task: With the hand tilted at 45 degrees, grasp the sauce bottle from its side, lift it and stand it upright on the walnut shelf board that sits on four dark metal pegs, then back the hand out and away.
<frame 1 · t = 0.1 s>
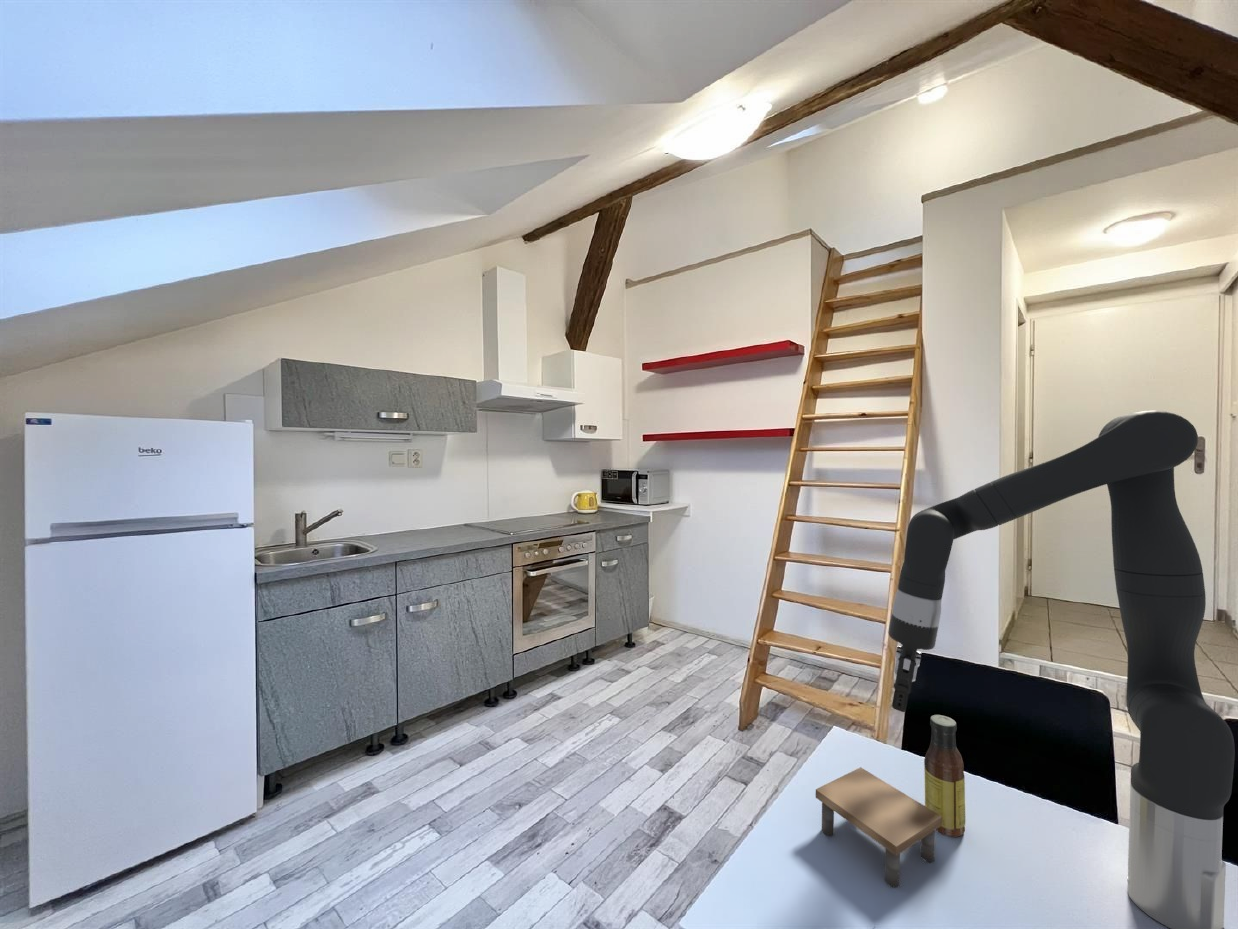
hand: (900, 700, 93), 22 cm above the table, tool pointing down, fingers open, 8 cm apart
sauce bottle: (943, 827, 91), on the table
peg shelf: (875, 844, 87), on the table
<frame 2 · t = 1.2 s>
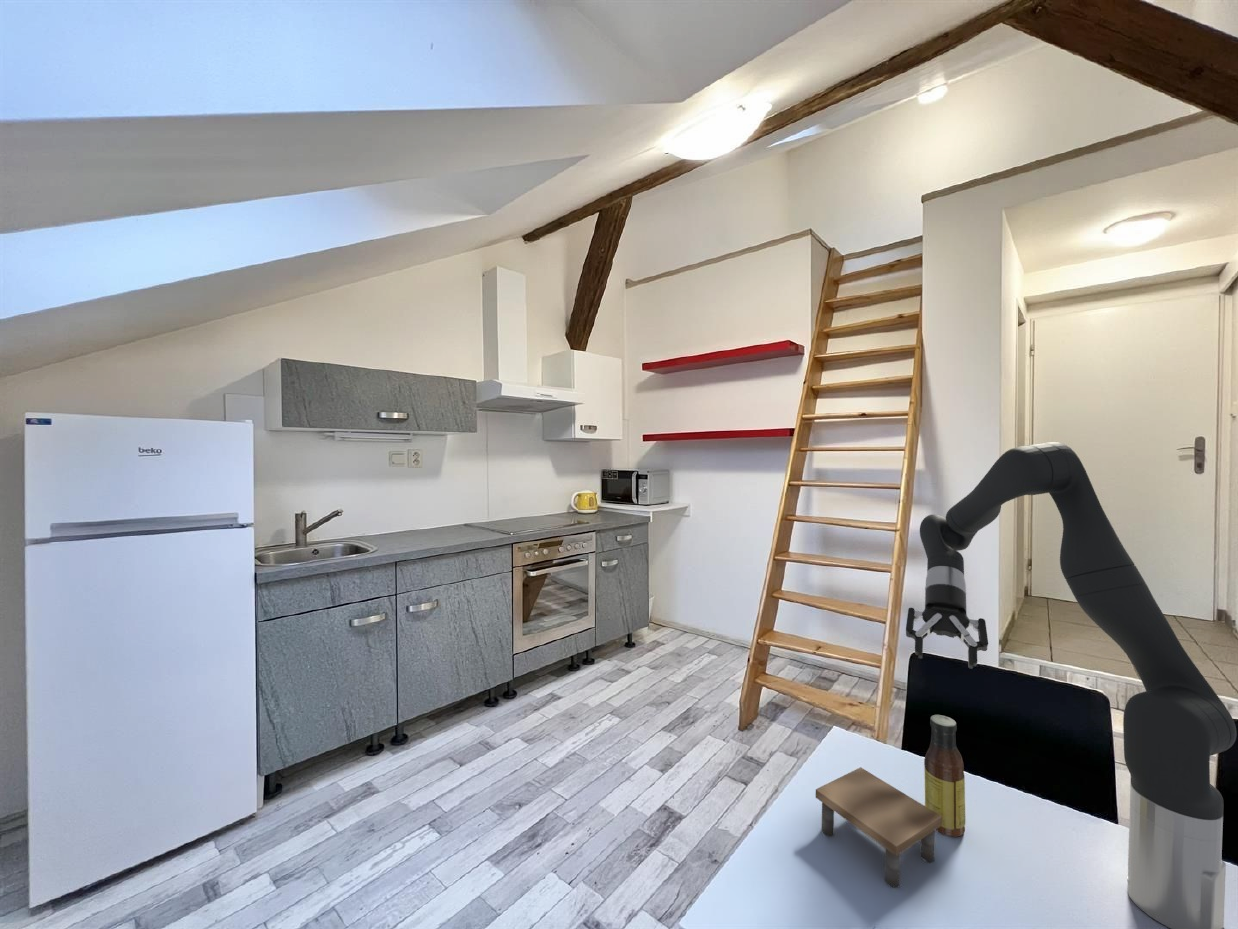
hand: (945, 661, 100), 26 cm above the table, tool tilted 45°, fingers open, 8 cm apart
nothing on the table moved.
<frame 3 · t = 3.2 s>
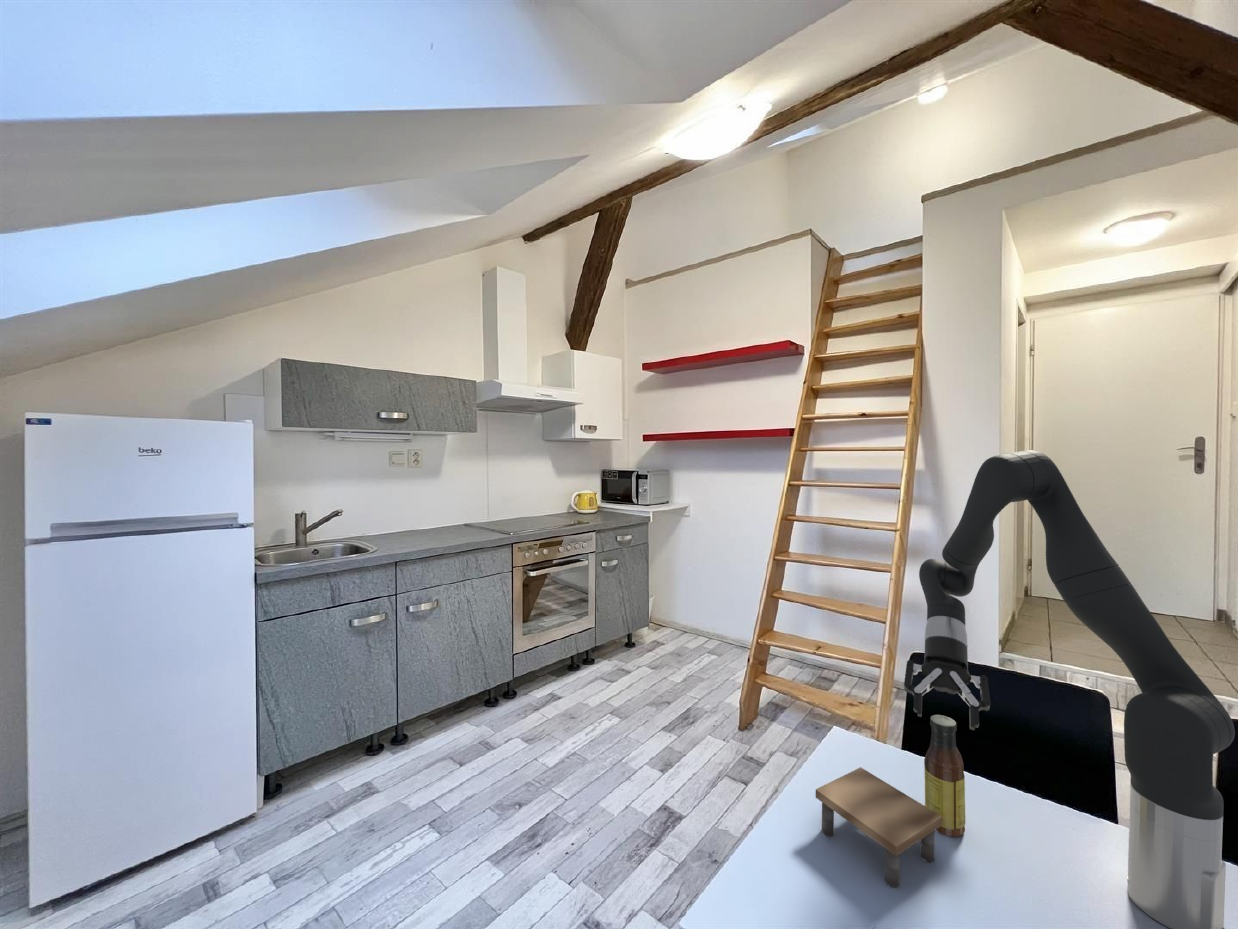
hand: (945, 721, 95), 17 cm above the table, tool tilted 45°, fingers open, 8 cm apart
nothing on the table moved.
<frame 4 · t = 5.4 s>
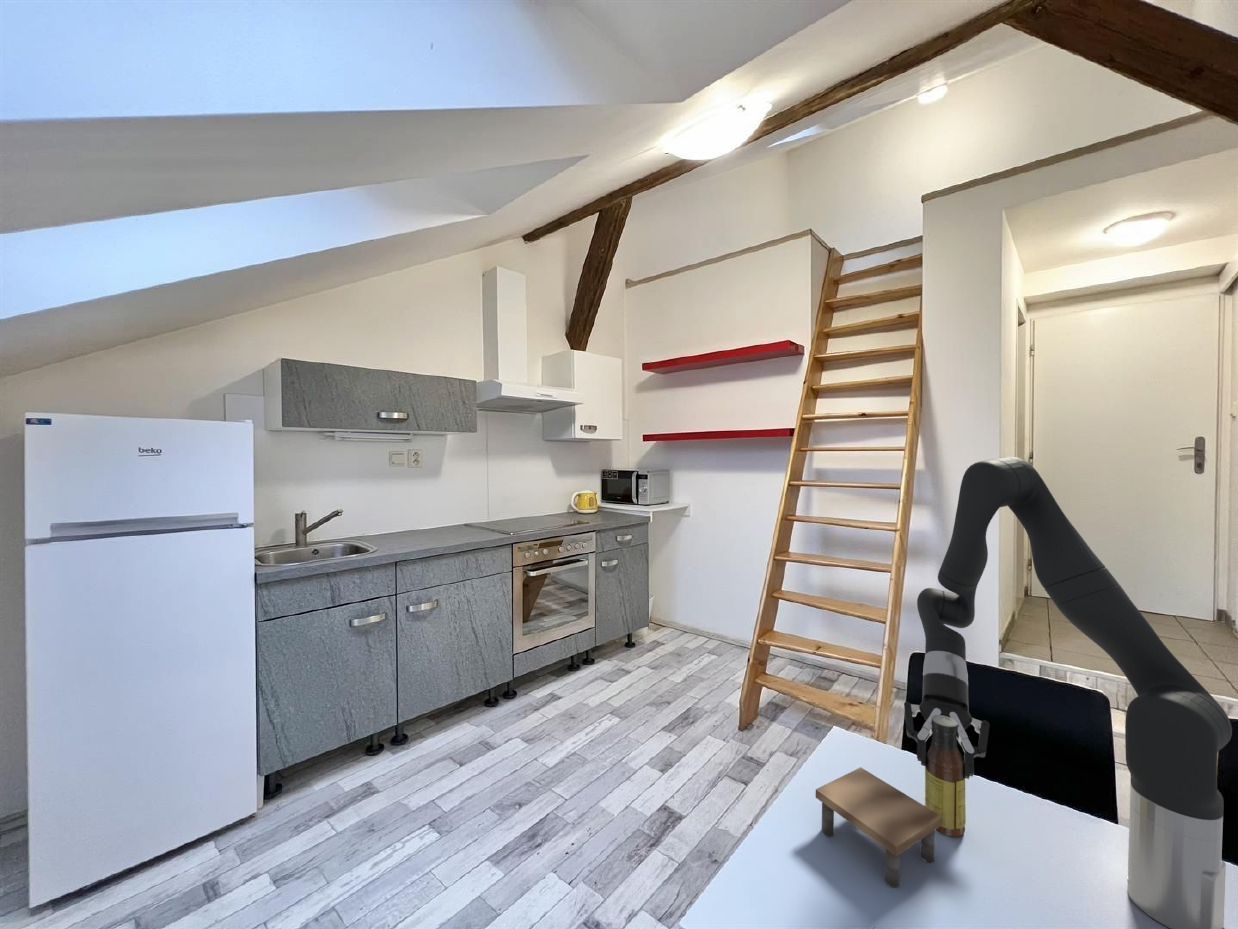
hand: (944, 770, 90), 11 cm above the table, tool tilted 45°, fingers closed on sauce bottle, 6 cm apart
sauce bottle: (943, 827, 91), on the table, touching gripper
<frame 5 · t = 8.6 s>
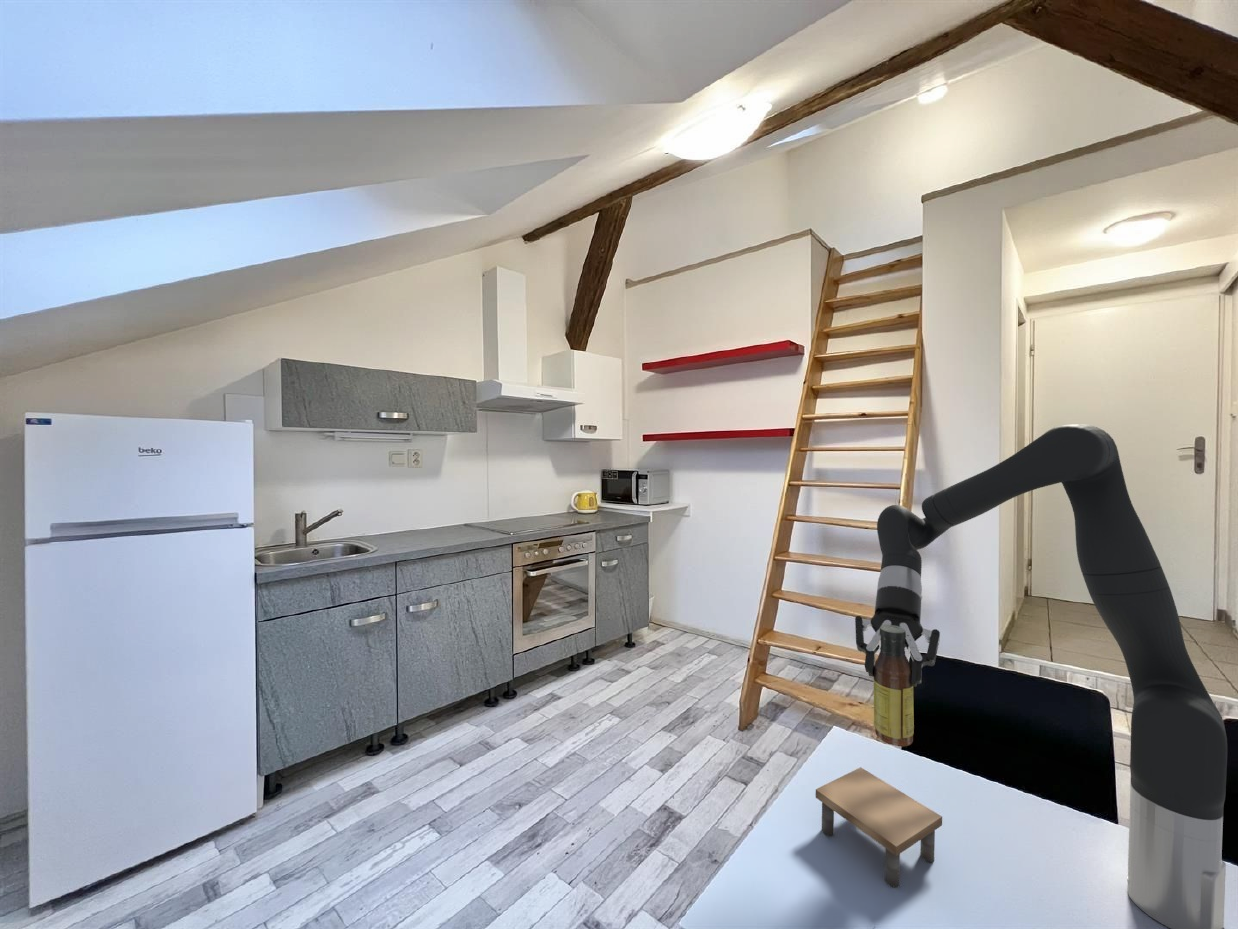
hand: (892, 679, 86), 29 cm above the table, tool tilted 45°, fingers closed on sauce bottle, 6 cm apart
sauce bottle: (892, 739, 88), point 18 cm above the table, touching gripper
when the fingers open (20 cm above the table, at t = 12.1 s): sauce bottle drops 1 cm, resting on peg shelf.
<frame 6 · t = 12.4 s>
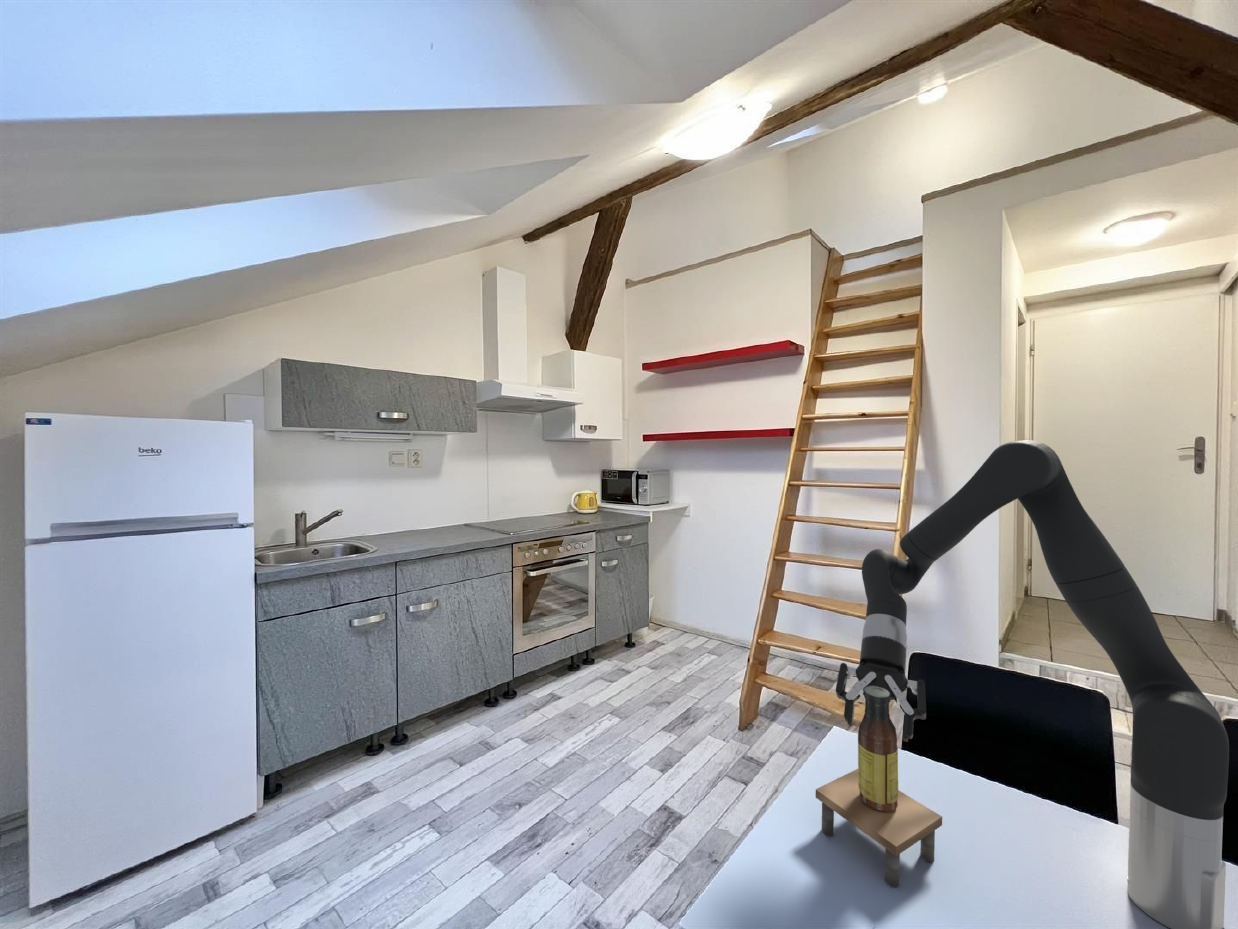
hand: (876, 732, 85), 21 cm above the table, tool tilted 45°, fingers open, 8 cm apart
sauce bottle: (876, 802, 87), point 7 cm above the table, touching peg shelf
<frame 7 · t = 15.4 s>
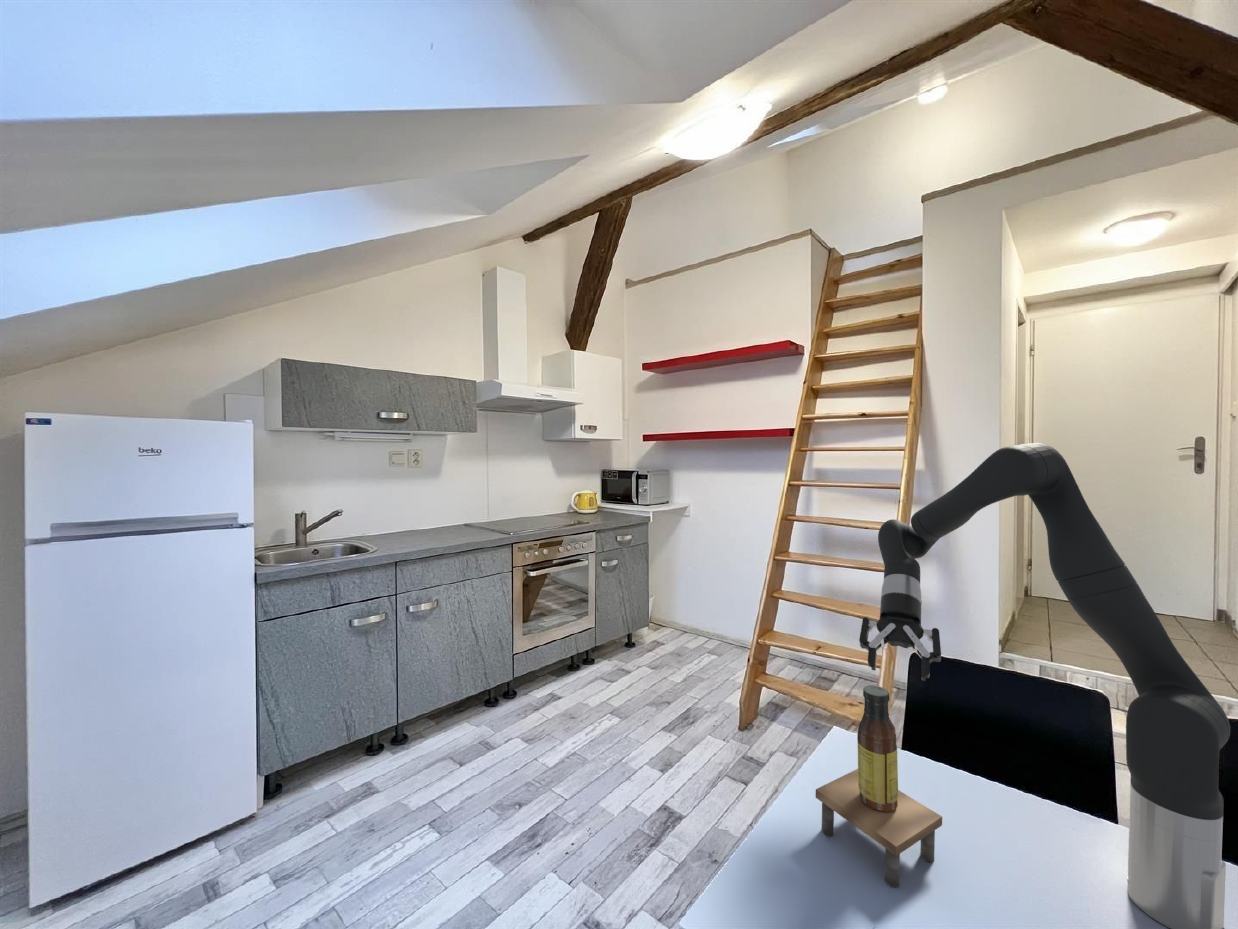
hand: (897, 673, 97), 26 cm above the table, tool tilted 45°, fingers open, 8 cm apart
nothing on the table moved.
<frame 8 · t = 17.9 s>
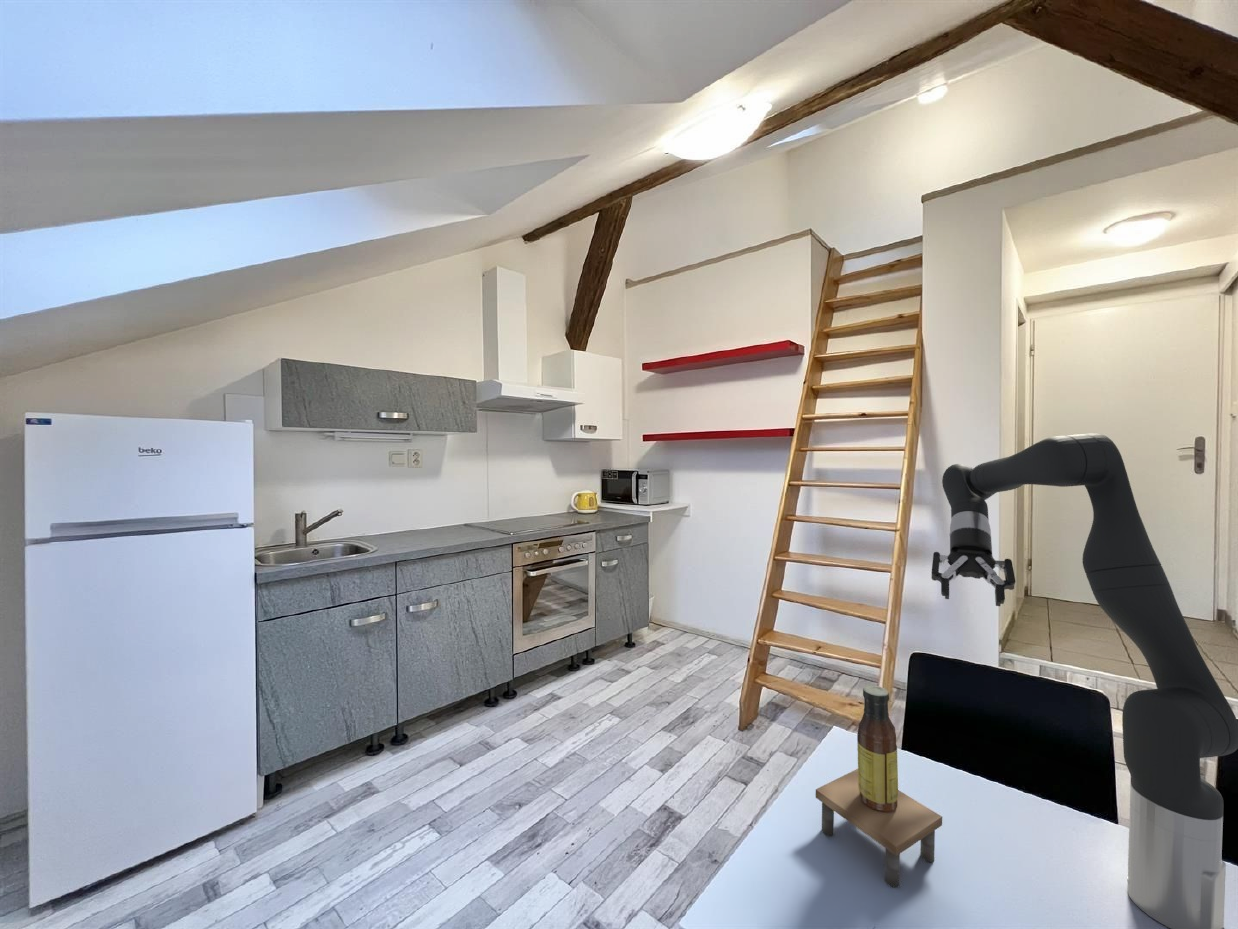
hand: (972, 600, 101), 39 cm above the table, tool tilted 45°, fingers open, 8 cm apart
nothing on the table moved.
at the end: sauce bottle inside the target area on the peg shelf (0.2 cm from its centre), point 7.3 cm above the peg shelf's base; sauce bottle tilted 0°; the gripper is holding nothing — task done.
